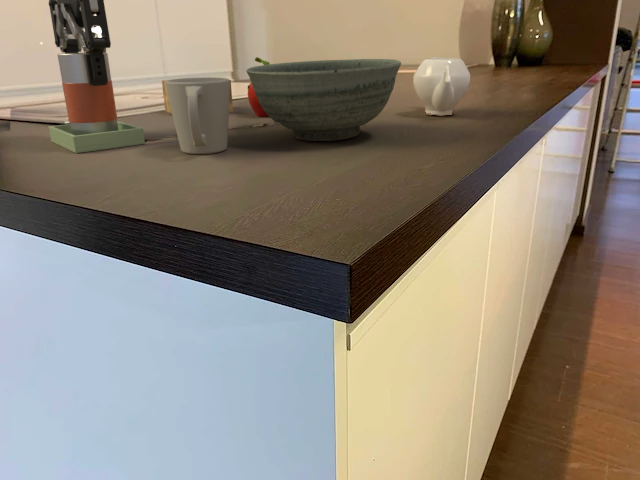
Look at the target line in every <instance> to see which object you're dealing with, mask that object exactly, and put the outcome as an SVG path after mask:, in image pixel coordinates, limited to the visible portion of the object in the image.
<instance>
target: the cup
mask: <svg viewBox="0 0 640 480" xmlns="http://www.w3.org/2000/svg"><path fill="white" fill-rule="evenodd" d="M166 80H167V81H166V82H165V83H166V88H167V93H168V97H169V102H170V107H171V111H172V113H171V116H172V120H173V125H174V128H175V131H176V136H177V139H178V142H179V143H178V144H179V148H180V151H181V152H183V153H184V154H187V155H213V154H218V153H222V152H224V151H225V150H226V149H228V136H229V122H230V119H229V118H230V112H229V92H230V80H231V79H229V78H227V77H209V76H208V77H184V78H174V79H173V78H172V79H166Z"/></svg>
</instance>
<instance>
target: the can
mask: <svg viewBox="0 0 640 480" xmlns="http://www.w3.org/2000/svg"><path fill="white" fill-rule="evenodd" d="M103 54H104V58H105V64H106V71H107V78H108V83H107V85H100V86H92V85H90V84H89V82H88V76H87V70H86V64H85V57H84V55H88V54H85V53H84V52H78V53H65V52H60V53H57V61H58V67H59V73H60V77H61V85H62V91H63V97H64V101H65V105H66V106H65V107H66V113H67V119H68V122H69V124H70V128H71V134H73V135H75V136H77V135H85V134H94V133H102V132H110V131H119V129H118V122H117V121H118V113H117V107H116V100H115V93H114V86H113V81H112V75H111V68H110V62H109V54H108V52H106V53H103Z"/></svg>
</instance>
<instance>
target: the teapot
mask: <svg viewBox="0 0 640 480" xmlns="http://www.w3.org/2000/svg"><path fill="white" fill-rule="evenodd" d="M412 77H413V78H412V82H413V83H412V84H413V89H414V93H415V94H416V96H417V98H418V100H419V101H420V102H421V103H422V105H423V107H424V109H425V110H424V113H425V112H426V113H431V114H445V113H451V112H453V111H454V109H455V107H457V105H458V104H460V102H461V101H462V100H463V99H464V98H465V96H466V94H467V92H468V90H469V88H470V85H471V80H472V79H471V78H472V77H471V73H470V71H469V69H468V66H467V65H466V63H465V62H464V60H463V59H461V58H458V57H443V56H432V57H431V58H429V57H428V58H424V59H423V60H422V62H421V63H420V64H419V66H418V68H417V69H416V70H415V72H414V74H413V76H412ZM453 113H454V112H453Z"/></svg>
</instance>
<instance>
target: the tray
mask: <svg viewBox="0 0 640 480" xmlns="http://www.w3.org/2000/svg"><path fill="white" fill-rule="evenodd" d="M117 122H118V129H119V131H110V132H102V133H94V134H85V135H77V136H75V135H73V134H71V128H70V123H68V124H59V125H50V126H49V125H48V132H49V136H50V141H51V143H53V144H56V145H58V146H60V147H62V148H64V149H66V150H69V151H70V152H73V153H74V154H81V153H89V152H96V151H103V150H109V149H118V148H124V147H132V146H138V145H146V140H145V132H144V128H143V127H140V126H137V125H134V124H129V123H126V122H122V121H119V120H117Z"/></svg>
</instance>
